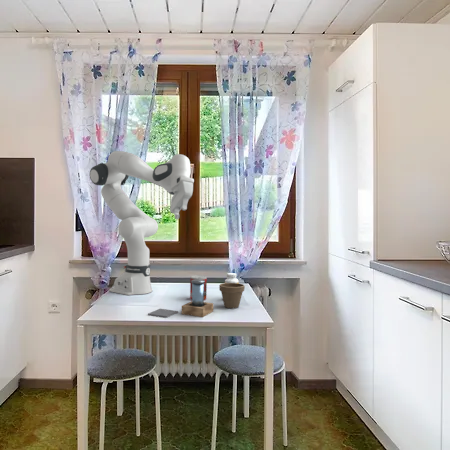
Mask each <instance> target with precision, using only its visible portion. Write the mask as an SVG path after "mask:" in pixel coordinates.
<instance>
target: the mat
mask: <svg viewBox="0 0 450 450" xmlns="http://www.w3.org/2000/svg"><path fill="white" fill-rule="evenodd" d="M178 313H179V310H172V309H167V308H166V309H165V308H158V309H156V310H153V311H151V312H149V313H148V314H147V315H148V316H153V317H158V316H159V318H168V319H169V318H170V317H171V316H173V315H175V314H176V315H177V314H178Z"/></svg>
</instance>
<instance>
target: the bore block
mask: <svg viewBox="0 0 450 450" xmlns="http://www.w3.org/2000/svg"><path fill="white" fill-rule="evenodd" d="M213 312H214V303H213V302H207V301H204V306H202V307H196V306H192V300H191V301H189V302H187V303H184V304H183V305H181V315H184V316H193V317H200V318H204V317H206V316H208V315H209V314H211V313H213Z"/></svg>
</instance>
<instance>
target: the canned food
mask: <svg viewBox="0 0 450 450" xmlns="http://www.w3.org/2000/svg"><path fill="white" fill-rule="evenodd" d="M194 279H202V280H205V283H204V301H206V300H207V288H208V286H207V281H208V279H207V276H206V275H191V276H190V279H189V280H190V285H189V286H190V287H189V293H190V294H189V298H190V300H191V301H192V283H191V280H194Z"/></svg>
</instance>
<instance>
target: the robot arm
mask: <svg viewBox="0 0 450 450" xmlns="http://www.w3.org/2000/svg"><path fill="white" fill-rule="evenodd" d="M191 169H192V168H191V161H190V159H189V157H187V156H186V154H185V155H184V154H180V153H176V154H174V155H173V156H172V157H171V158H170V159H169V160H168V161H166V162H163V163H160V164H157V165H156V166H155V167H154V168H153V167H151V166H150V165H149V164H148V163H146V162H145V160H143V159H142V158H141V157H140V156H138V155H136V154H135V153H132V152H127V151H122V150H114V151H112V152H110V154H109V155H108V158H107V161H106V162H105V163H104V162H100V163H99V164H96V165H94V166H93V167H91V168H90V170H89V179H90V181H91V182H92V184H93V185H96V186H102V188H101V189H100V193H101V195H102V198H103V200H104V202H105V203H106V205H107V207H109V209H110V210H111V211H112V212H113V214H114V215H115V217H116V218H117V219H119V220H120V222H119V223H118V229H117V230H118V233H119V235H120V236H121V237H122V238H123V240H124V242H125V244H126V250H127V264H126V265H123V266H122V267H123V269H125V270H124V271H123V273H122V274H120V275H119V276H117V277H116V278H115V279H114V283H113V287H110V288H109V289H108V291H109V292H112V293H116V294H121V295H125V296H131V295H145V294H150V293H152V292H153V288H152V283H151V277H150V276H151V264H150V262H151V261H150V251H151V250H150V248H149V247H148V246H147V245H146V241H145V238H150V237H151V236H154V235H155V234H156V233H157V232H158V229H159V224H158V222H157V220H156V219H155V218H153V217H151V216H150V215H148V214H146V213H145V212H144V211H143V210H142V209H141V208H139V207H138V206H137V205H136V204H135V203H134V202H133V201H132V200H131V199H130V197H129V196H128V195H127V194H126V192H125V191H124V190H123V189H122V186H124V185H125V184H126V182H127V180H128V179H129V177H133V178H136V179H140V180H142V181H147V182H149V183H150V184H151V183H152V184H153V185H157V186H159V187H161V188H163V189H164V190H165V191H166V192H167V193H168V194H169V195H171V199H170V207H169V208H170V209H169V211H170V213H172V214H174V219H175V220H179V219H180V211H181V210H182V211H186V210H187V209H188V202H189V200H190V199H191V198H192V196H193V192H194V182H195V179H194V178H192V177H191V173H192V172H191V171H192V170H191Z"/></svg>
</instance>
